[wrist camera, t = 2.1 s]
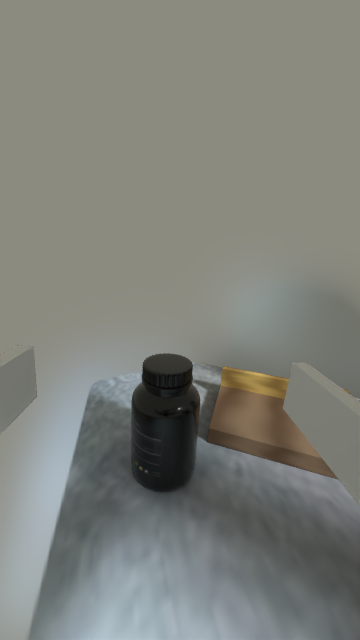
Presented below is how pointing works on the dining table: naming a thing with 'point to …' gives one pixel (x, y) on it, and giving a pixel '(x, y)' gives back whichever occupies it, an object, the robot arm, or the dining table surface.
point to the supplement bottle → (164, 423)
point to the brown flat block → (261, 421)
